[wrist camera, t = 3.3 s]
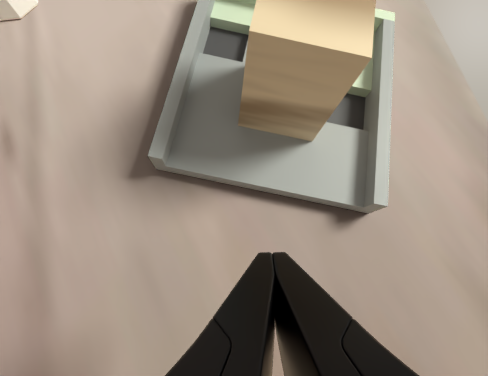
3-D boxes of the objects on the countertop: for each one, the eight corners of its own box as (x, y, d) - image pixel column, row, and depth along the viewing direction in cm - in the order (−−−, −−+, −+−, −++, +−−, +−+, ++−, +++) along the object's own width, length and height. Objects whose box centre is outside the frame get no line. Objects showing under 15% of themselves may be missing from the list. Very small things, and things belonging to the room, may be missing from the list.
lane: (368, 213, 22) (387, 206, 19) (156, 169, 21) (147, 155, 19) (379, 36, 27) (395, 12, 24) (208, -2, 27) (207, -30, 24)
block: (312, 141, 22) (372, 57, 13) (237, 125, 22) (249, 30, 13) (320, 79, 24) (377, -31, 15) (251, 64, 23) (269, -56, 15)
